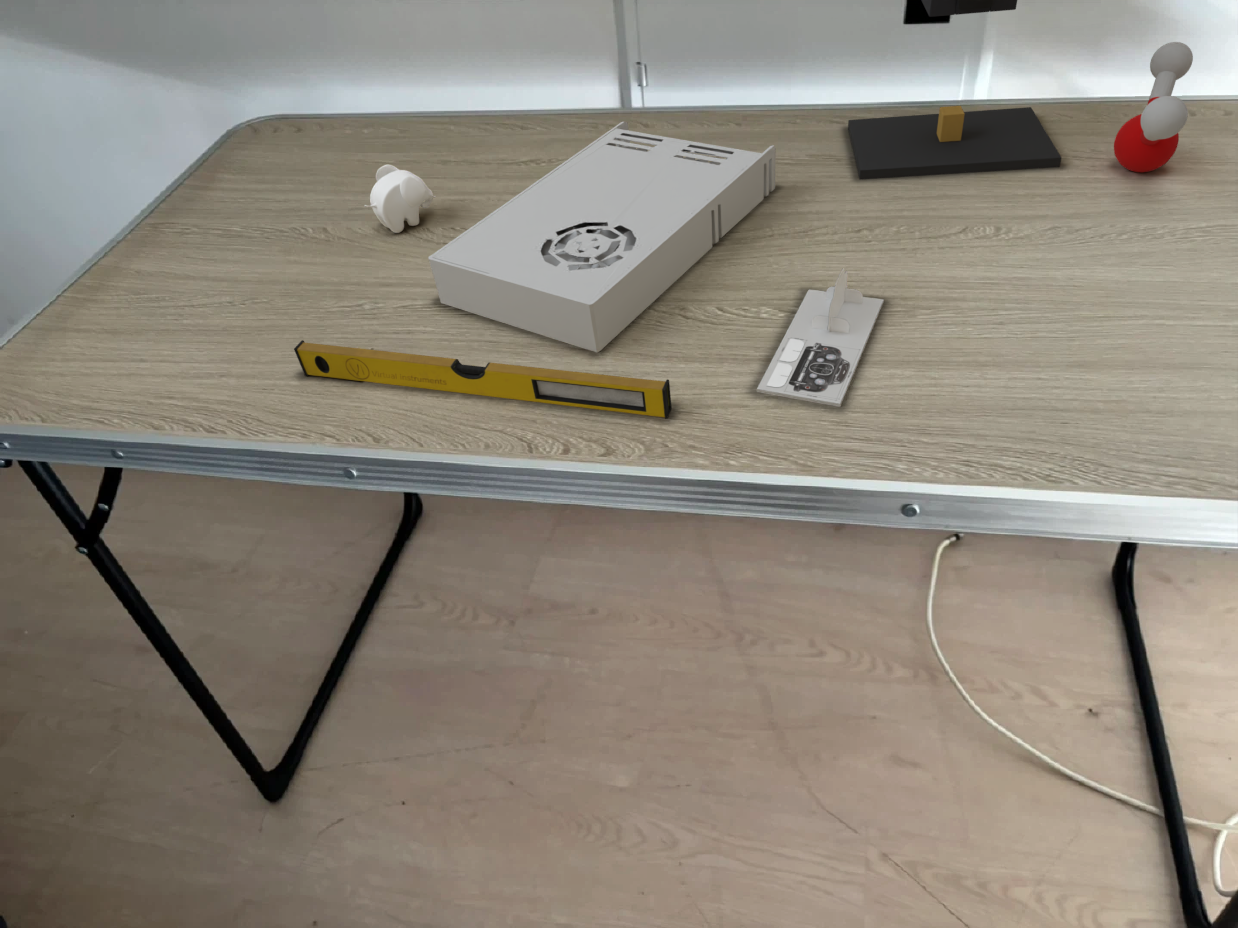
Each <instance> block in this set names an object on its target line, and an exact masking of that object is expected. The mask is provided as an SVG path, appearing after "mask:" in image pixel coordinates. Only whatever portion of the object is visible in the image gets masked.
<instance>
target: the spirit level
mask: <svg viewBox="0 0 1238 928" xmlns="http://www.w3.org/2000/svg"><path fill="white" fill-rule="evenodd" d="M293 350H294V353H295V355H296V358H297V360H298V362H299V364H300V368H301V369H302V372H303V374H304V376H305V377H308V376H315V377H325V378H331V379H332V378H333V379H340V380H348V381H349V380H350V381H356V382H357V381H358V382H367V383H373V384H374V383H375V384H381V385H382V384H383V385H391V386H392V385H393V386H399V387H407V388H417V389H424V390H432V391H441V392H449V393H457V394H466V395H475V396H483V397H492V398H498V399H499V398H500V399H507V400H508V399H509V400H517V401H523V402H525V401H526V402H534V403H541V404H542V403H543V404H548V405H550V404H551V405H557V406H565V407H567V406H568V407H575V408H584V409H592V410H598V411H599V410H601V411H609V412H616V413H623V414H634V415H642V416H649V417H657V418H658V417H659V418H664V419H665V420H667V419H669V417H670V414H671V411H672V410H673V408H672V407H673V406H672V398H671V385H670V379H665V380H656V379H646V378H637V377H629V376H628V377H627V376H618V375H608V374H601V373H600V374H599V373H593V372H592V373H591V372H581V371H573V370H562V369H555V368H554V369H553V368H544V367H535V366H525V365H517V364H507V363H498V362H491V361H490V362H488V363H486V365H485V366H479V365H471V364H462V363H461V362H460V360H459V359H458V358H453V357H451V358H450V357H443V356H434V355H423V354H414V353H406V352H397V351H387V350H377V349H368V348H359V347H350V346H341V345H331V344H322V343H315V342H305V340H304V339H303V340H301V341H300V342H299V343H298V344H297V345H296V346H295V347H294V348H293Z"/></svg>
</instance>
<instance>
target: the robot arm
mask: <svg viewBox="0 0 1238 928" xmlns="http://www.w3.org/2000/svg"><path fill="white" fill-rule="evenodd" d="M993 3H994V0H958V4H957V6H958V8H959V9H960V10H969V9H981V8H990V7H991V6H992V5H993Z"/></svg>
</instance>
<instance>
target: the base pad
mask: <svg viewBox="0 0 1238 928" xmlns="http://www.w3.org/2000/svg"><path fill="white" fill-rule="evenodd" d="M847 131H848V135H849V140H850V145H851V148H852V153H853V157H854V161H855V166H856V170H857V175H858V178H859V179H858V180H860V181H861V180H872V179H873V180H877V179H890V178H892V179H893V178H908V177H909V178H910V177H922V176H938V175H940V176H941V175H955V174H971V173H987V172H1003V171H1019V170H1036V169H1053V168H1060V166H1061V162H1062V156H1061V154H1060V153H1059V151H1058V149H1057V148H1056V146H1055V144H1054V143H1053V141H1052V140H1051V138H1050V136H1049V134H1048V133H1047V131H1046V130H1045V128H1044V126H1043V124H1042V123H1041V121H1040V120H1039V118H1038V117H1037V114H1036V113H1035V111H1034V109H1033V108H1032V107H1031V106H1026V107H1015V108H1014V107H1013V108H1012V107H1011V108H999V109H985V110H971V111H964V110H963V108H962V105H949V106H940V107H939V111H938V113H930V114H929V113H928V114H927V113H926V114H916V115H915V114H914V115H899V116H887V117H874V118H873V117H872V118H859V119H858V118H857V119H856V118H855V119H848V120H847Z"/></svg>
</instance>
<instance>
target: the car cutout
mask: <svg viewBox="0 0 1238 928" xmlns="http://www.w3.org/2000/svg"><path fill="white" fill-rule="evenodd" d="M848 277H849V272H848V270H845V268H844V267H843V268H842V269H841V271H840V272H839V274H838V276H837V279H836V281H835V284H834V285H833V286H829V287H827V289H826V291H825V290H819V289H811V288H808V289H807V291H806V293H805V294H804V297H803V299H802V301H801V303H800V305H799V307H798V308H797V310H796V312H795V315H794V316H793V318H792V320H791V322H790V324H789V326H788V328H787V330H786V332H785V333H784V335H783V337H782V338H781V342H780V343H779V345H778V347H777V349H776V350H775V353H774V354H773V356H772V358H771V360H770V362H769V364H768V366H767V367H766V370H765V371H764V374H763V376H762V377H761V380H760V382H759V383H758V386H757V388H756V393H760V394H766V395H771V396H778V397H783V398H788V399H793V400H799V401H805V402H811V403H816V404H822V405H827V406H831V407H837V408H838V407H839V408H841V406H842V404H843V401H844V399H845V396H846V394H847V392H848V389H849V387H850V384H851V382H852V379H853V378H854V376H855V372H856V370H857V367H858V366H859V362H860V360H861V358H862V356H863V353H864V350H865V348H866V346H867V343H868V341H869V338H870V337H871V334H872V331H873V329H874V327H875V324H876V321H877V319H878V317H879V314H880V312H881V309H882V308H883V305H884V302H885V299H884V298H877V297H869V296H864V295H863V293H862V291H860V290H859V289H856V288H849V287H848V286H849V285H848V280H849V278H848Z"/></svg>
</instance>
